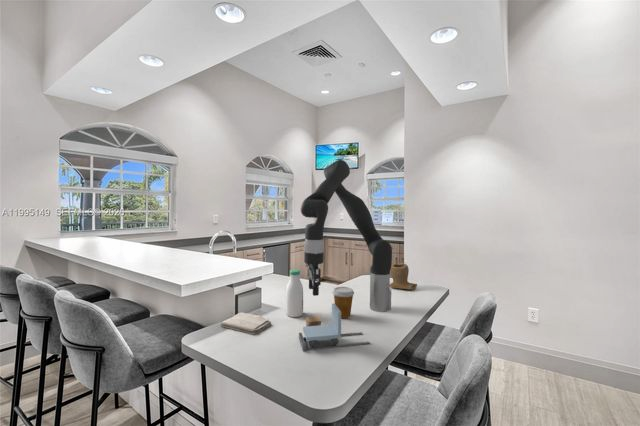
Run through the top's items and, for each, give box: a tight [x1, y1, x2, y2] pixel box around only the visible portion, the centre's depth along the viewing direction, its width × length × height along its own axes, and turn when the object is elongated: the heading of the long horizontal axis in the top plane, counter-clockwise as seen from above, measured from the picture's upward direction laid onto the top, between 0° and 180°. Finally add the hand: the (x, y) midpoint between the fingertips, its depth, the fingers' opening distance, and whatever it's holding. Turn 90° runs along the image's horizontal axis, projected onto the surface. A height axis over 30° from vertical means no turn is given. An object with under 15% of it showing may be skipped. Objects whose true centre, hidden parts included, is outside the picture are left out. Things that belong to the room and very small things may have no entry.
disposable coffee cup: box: [332, 286, 355, 320], centre depth 133 cm, size 10×10×12 cm
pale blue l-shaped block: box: [302, 302, 342, 347], centre depth 108 cm, size 12×9×12 cm
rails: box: [298, 331, 371, 352], centre depth 109 cm, size 24×10×2 cm, turn 102°
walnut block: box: [305, 315, 322, 327], centre depth 117 cm, size 5×5×5 cm
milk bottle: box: [285, 269, 304, 318], centre depth 134 cm, size 8×8×20 cm
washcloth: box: [220, 312, 272, 335], centre depth 122 cm, size 12×18×3 cm, turn 66°
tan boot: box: [390, 262, 418, 291], centre depth 177 cm, size 15×12×15 cm
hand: (313, 292), depth 117 cm, fingers open, 8 cm apart
